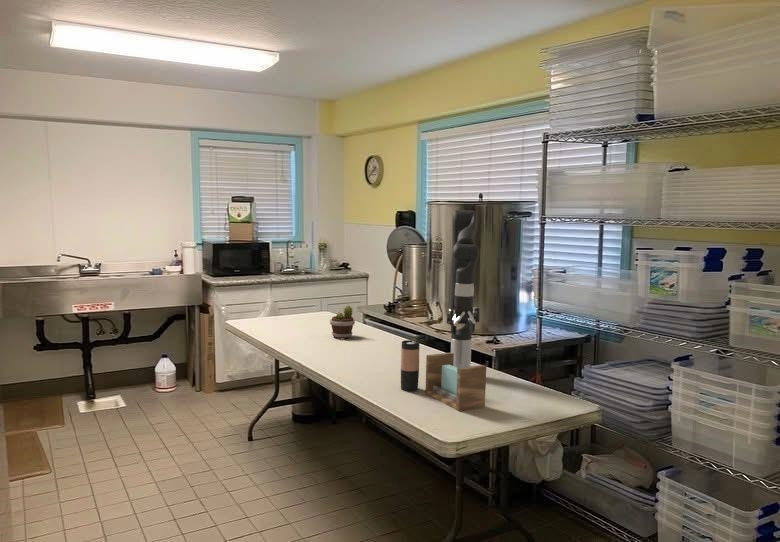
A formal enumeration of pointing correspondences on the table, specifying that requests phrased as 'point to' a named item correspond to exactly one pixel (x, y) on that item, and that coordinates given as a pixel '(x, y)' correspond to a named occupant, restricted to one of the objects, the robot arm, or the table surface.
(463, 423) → the table surface
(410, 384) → the travel mug
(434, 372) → the slotted wooden stand
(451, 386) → the pale teal rectangular block
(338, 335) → the flowerpot
